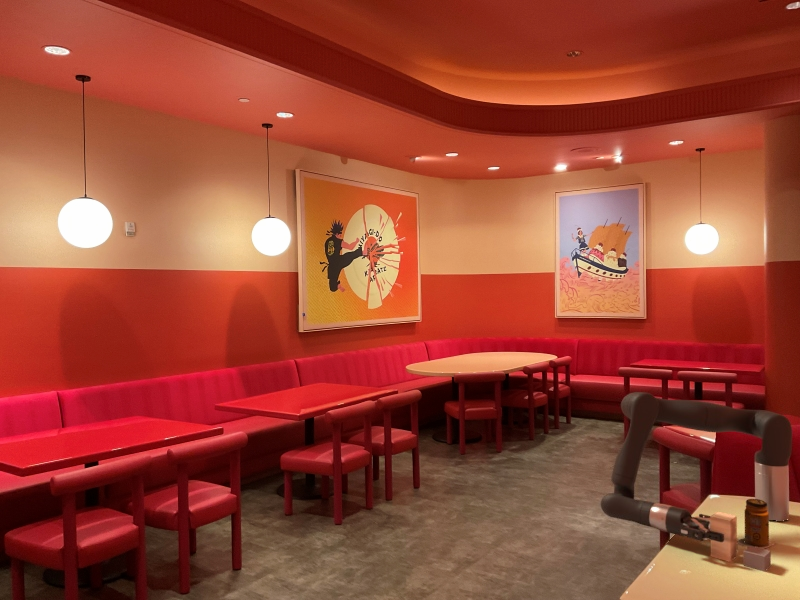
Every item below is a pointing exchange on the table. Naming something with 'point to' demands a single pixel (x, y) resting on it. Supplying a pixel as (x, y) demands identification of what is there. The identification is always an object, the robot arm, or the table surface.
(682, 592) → the table surface
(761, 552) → the rubber block
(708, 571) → the table surface
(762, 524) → the condiment
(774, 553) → the table surface
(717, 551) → the maple block
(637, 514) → the robot arm
